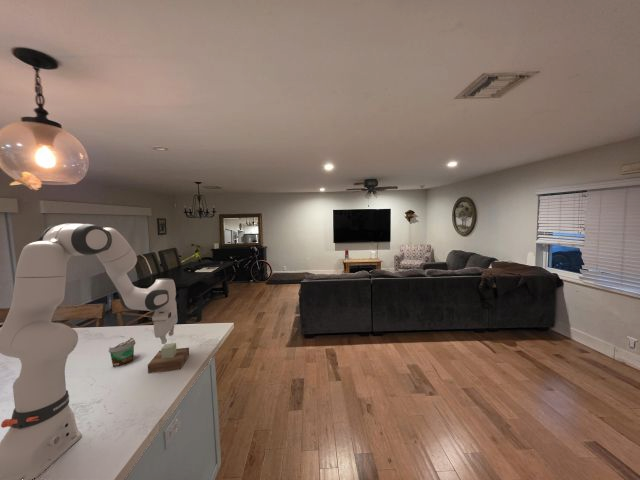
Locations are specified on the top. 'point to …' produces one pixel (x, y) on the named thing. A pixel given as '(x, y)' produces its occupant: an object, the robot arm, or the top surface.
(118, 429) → the top surface
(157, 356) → the walnut base
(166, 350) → the sage block
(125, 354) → the food container
